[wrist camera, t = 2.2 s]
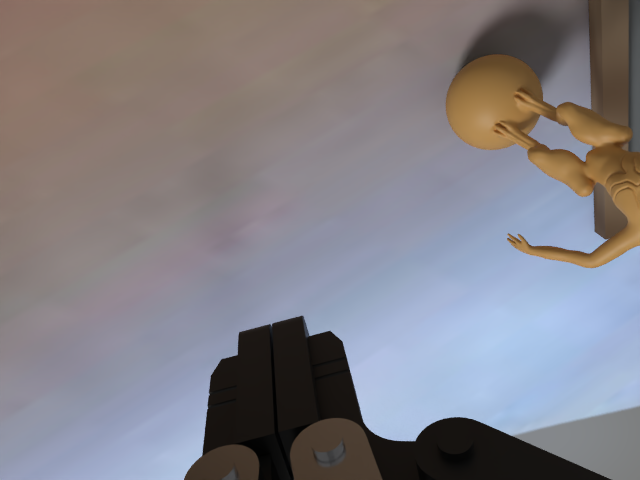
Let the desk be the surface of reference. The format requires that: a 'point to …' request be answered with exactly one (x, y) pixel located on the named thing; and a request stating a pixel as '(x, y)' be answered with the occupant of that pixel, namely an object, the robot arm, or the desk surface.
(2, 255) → the desk surface
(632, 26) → the mat
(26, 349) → the desk surface
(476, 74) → the figurine
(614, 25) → the bar
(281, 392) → the robot arm
